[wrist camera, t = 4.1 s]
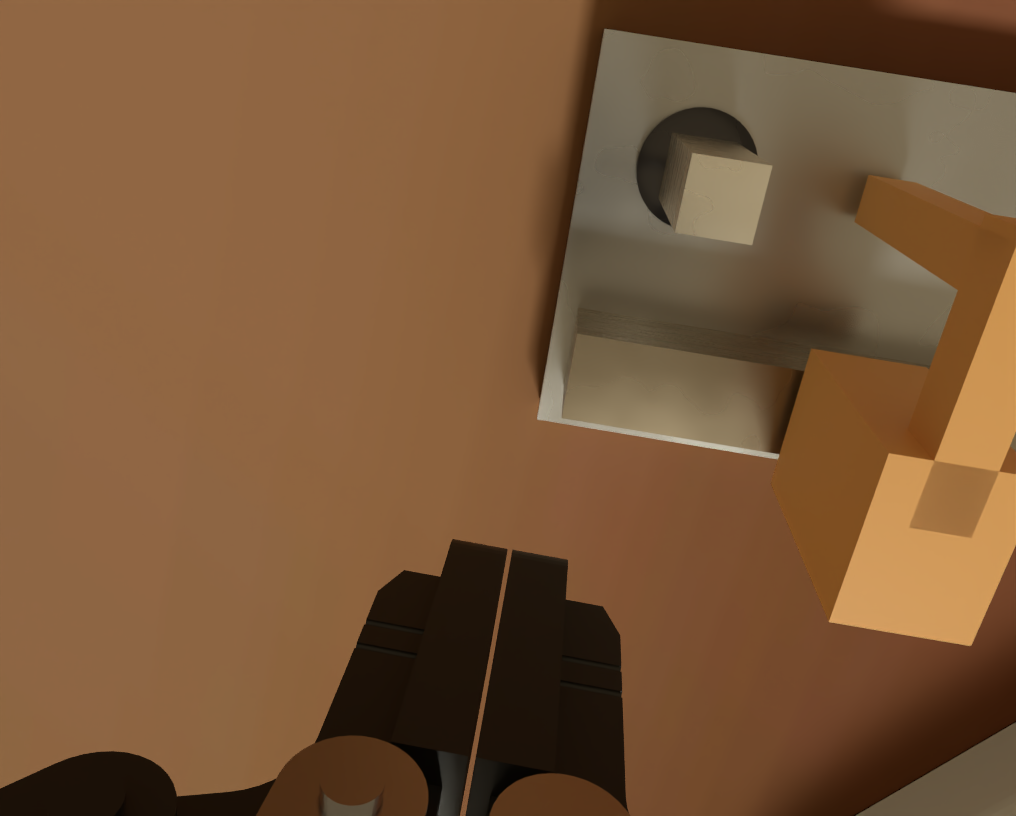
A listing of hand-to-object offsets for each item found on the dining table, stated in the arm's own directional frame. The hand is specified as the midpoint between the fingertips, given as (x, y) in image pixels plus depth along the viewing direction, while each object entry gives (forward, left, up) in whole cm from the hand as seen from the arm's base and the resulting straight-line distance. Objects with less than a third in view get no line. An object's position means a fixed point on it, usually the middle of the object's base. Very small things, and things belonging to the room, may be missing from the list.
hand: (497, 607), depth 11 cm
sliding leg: (+3, +6, -10) cm, 12 cm away
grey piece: (+5, +9, -12) cm, 15 cm away
